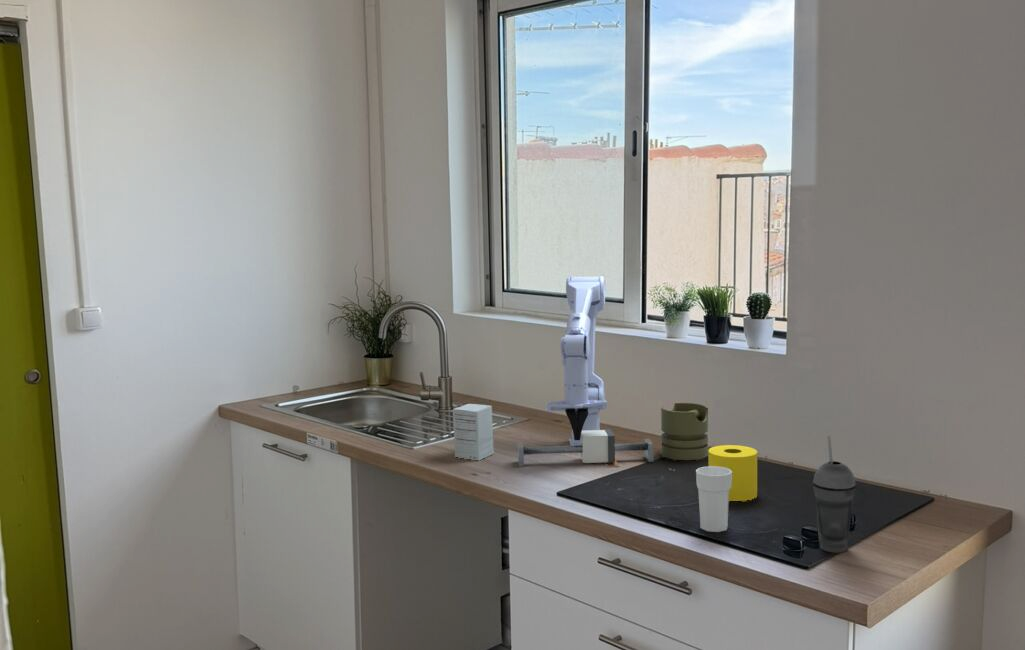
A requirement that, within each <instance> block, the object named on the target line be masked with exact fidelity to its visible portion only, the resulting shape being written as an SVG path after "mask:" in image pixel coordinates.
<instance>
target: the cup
mask: <svg viewBox="0 0 1025 650" xmlns="http://www.w3.org/2000/svg"><path fill="white" fill-rule="evenodd" d="M695 477H696V487H697V490H698V504H699V505H698V508H699V521H700V529H701V530H703V531H706V532H710V533H711V532H713V533H715V532H716V533H720V532H724V531H728V524H729V522H728V520H729V506H730V505H729V504H730V501H729V489H730V488H731V483H732V471H731V470H730V469H728V468H724V467H717V466H709V465H708V466H702V467H698V468H697V469H695Z"/></svg>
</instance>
